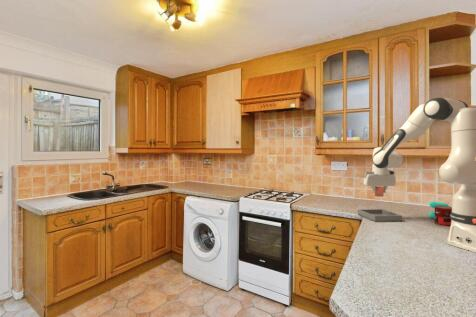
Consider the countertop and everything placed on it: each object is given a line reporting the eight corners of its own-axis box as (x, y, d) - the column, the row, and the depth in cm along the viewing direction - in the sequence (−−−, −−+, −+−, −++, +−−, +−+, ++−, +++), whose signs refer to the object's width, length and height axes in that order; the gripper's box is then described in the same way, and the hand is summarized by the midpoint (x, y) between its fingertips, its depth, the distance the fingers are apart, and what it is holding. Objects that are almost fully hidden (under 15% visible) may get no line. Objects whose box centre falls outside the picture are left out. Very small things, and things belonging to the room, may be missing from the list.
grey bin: (401, 221, 157) (401, 215, 157) (374, 221, 155) (374, 216, 155) (382, 214, 175) (382, 209, 175) (357, 214, 173) (357, 209, 173)
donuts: (452, 204, 162) (438, 204, 161) (452, 219, 162) (438, 220, 161) (439, 201, 172) (425, 201, 171) (438, 216, 172) (425, 216, 171)
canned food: (435, 221, 157) (435, 204, 156) (452, 224, 151) (452, 206, 151) (433, 224, 151) (433, 205, 151) (450, 227, 146) (451, 208, 145)
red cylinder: (385, 196, 163) (385, 187, 162) (378, 196, 162) (378, 187, 162) (380, 195, 168) (380, 186, 167) (373, 195, 167) (373, 186, 167)
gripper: (367, 171, 160) (367, 193, 160) (397, 172, 162) (397, 193, 163) (361, 171, 166) (361, 192, 167) (390, 171, 169) (390, 191, 169)
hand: (379, 192), depth 165 cm, fingers closed on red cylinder, 5 cm apart
